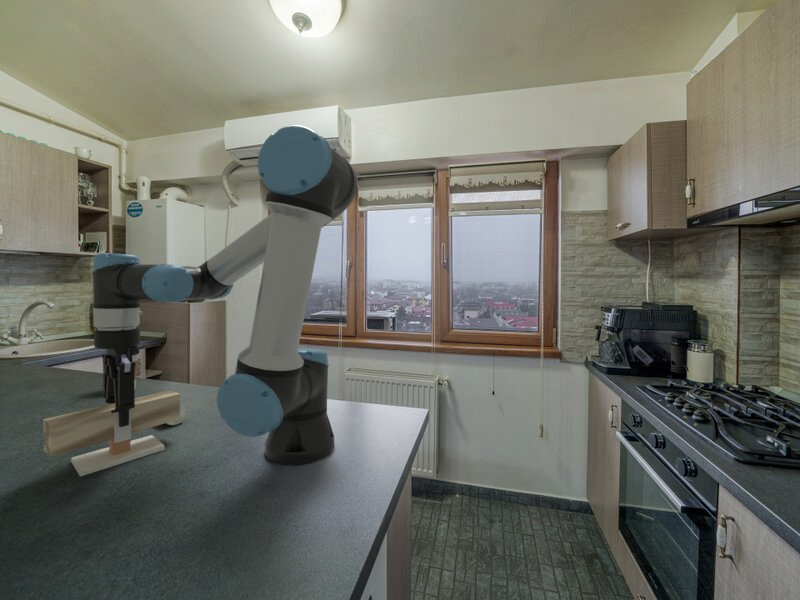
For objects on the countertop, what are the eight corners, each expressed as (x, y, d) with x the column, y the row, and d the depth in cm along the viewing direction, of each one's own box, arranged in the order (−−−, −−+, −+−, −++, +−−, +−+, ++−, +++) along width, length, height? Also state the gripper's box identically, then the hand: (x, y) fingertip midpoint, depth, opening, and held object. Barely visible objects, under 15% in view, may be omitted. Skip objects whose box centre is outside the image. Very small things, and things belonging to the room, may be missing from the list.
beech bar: (180, 418, 82) (179, 393, 82) (51, 457, 63) (50, 425, 63) (170, 414, 84) (170, 390, 84) (44, 450, 66) (43, 419, 65)
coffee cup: (115, 387, 119) (114, 344, 118) (144, 386, 121) (143, 343, 121) (102, 395, 111) (101, 349, 110) (133, 393, 113) (133, 348, 113)
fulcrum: (164, 449, 77) (164, 427, 77) (80, 476, 66) (79, 450, 66) (152, 439, 82) (151, 418, 82) (71, 462, 71) (71, 438, 71)
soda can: (169, 404, 88) (150, 394, 95) (160, 425, 87) (142, 413, 94) (189, 406, 92) (170, 397, 99) (181, 426, 91) (162, 416, 98)
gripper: (153, 330, 70) (154, 443, 71) (126, 322, 81) (127, 420, 82) (106, 334, 64) (107, 457, 65) (84, 324, 75) (85, 430, 76)
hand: (118, 436), depth 74 cm, fingers closed on beech bar, 5 cm apart
